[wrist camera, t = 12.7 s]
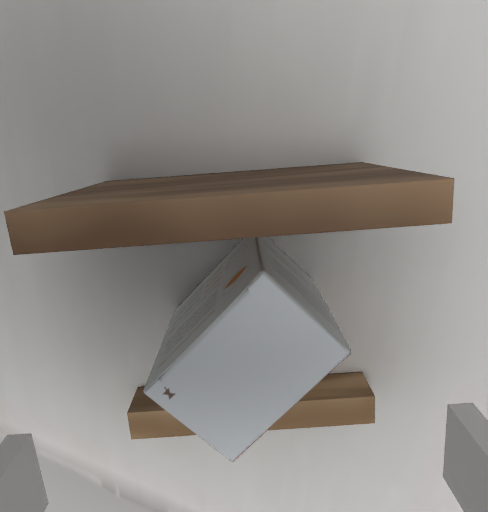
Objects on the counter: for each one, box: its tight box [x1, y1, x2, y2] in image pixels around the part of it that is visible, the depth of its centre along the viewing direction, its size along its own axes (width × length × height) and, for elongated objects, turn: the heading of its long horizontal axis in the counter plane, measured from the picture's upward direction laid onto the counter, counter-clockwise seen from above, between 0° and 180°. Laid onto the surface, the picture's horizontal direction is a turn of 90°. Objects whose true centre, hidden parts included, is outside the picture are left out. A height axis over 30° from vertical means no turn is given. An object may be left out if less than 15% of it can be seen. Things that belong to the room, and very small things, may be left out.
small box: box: [143, 237, 351, 462], centre depth 24 cm, size 8×6×10 cm
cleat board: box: [4, 162, 454, 439], centre depth 23 cm, size 17×16×12 cm
